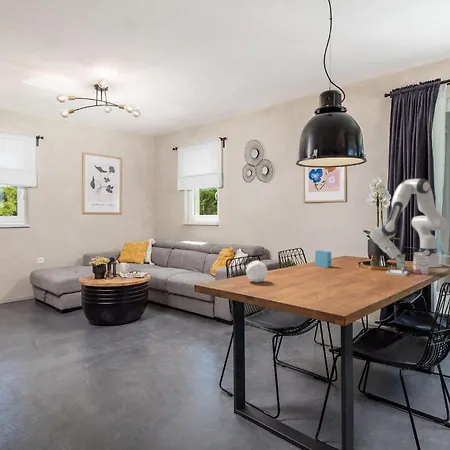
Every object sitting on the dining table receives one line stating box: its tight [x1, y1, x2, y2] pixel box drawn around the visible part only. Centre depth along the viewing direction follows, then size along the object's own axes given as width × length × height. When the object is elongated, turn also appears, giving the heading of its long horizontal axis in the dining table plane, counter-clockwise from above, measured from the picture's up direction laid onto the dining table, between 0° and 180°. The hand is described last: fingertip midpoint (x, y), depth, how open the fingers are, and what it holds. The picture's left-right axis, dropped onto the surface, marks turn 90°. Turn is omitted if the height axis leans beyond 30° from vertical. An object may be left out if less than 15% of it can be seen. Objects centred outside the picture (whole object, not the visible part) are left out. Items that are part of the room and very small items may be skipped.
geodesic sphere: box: [245, 259, 268, 283], centre depth 228 cm, size 14×14×14 cm
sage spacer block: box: [396, 253, 406, 270], centre depth 265 cm, size 4×4×12 cm
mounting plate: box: [385, 268, 409, 277], centre depth 255 cm, size 12×12×2 cm
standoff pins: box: [387, 265, 407, 273], centre depth 255 cm, size 10×10×3 cm
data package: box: [314, 249, 332, 268], centre depth 285 cm, size 12×4×12 cm, turn 37°
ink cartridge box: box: [412, 251, 429, 275], centre depth 255 cm, size 9×5×15 cm, turn 84°
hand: (401, 261), depth 264 cm, fingers closed on sage spacer block, 4 cm apart
